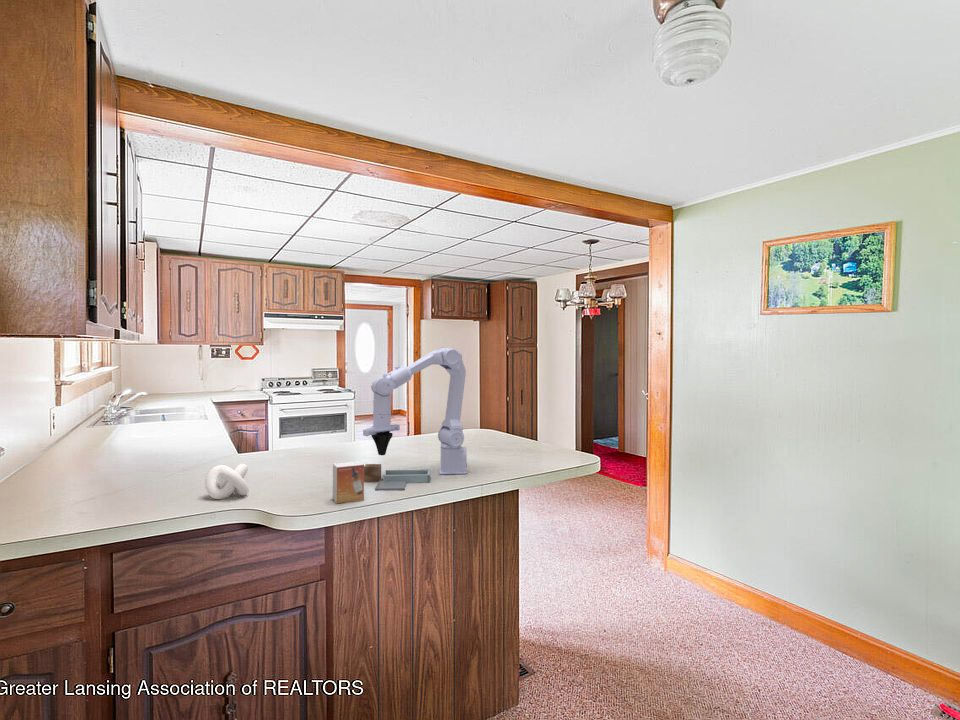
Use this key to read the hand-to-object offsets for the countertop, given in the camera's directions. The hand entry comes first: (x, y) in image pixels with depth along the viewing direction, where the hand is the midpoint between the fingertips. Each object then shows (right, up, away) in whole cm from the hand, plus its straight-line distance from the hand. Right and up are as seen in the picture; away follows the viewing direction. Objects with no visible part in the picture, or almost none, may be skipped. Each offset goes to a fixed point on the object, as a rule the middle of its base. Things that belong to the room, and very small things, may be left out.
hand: (381, 454), depth 163 cm
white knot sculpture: (-41, -9, -18) cm, 46 cm away
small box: (-6, -9, -20) cm, 23 cm away
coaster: (+4, -9, -6) cm, 12 cm away
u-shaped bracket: (+8, -9, +1) cm, 12 cm away
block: (-3, -9, 0) cm, 9 cm away
